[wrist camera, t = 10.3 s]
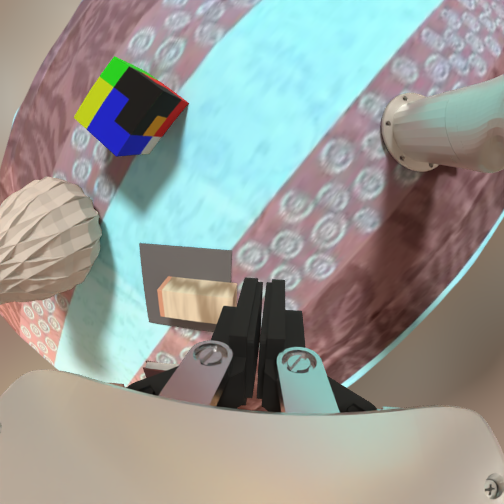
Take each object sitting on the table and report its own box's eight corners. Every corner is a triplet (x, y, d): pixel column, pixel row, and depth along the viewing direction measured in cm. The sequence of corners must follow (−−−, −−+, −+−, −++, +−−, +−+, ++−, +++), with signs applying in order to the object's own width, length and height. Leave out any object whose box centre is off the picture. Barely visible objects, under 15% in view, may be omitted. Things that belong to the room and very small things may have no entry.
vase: (132, 261, 46) (18, 371, 18) (64, 278, 49) (-30, 357, 21) (98, 154, 40) (-55, 185, 12) (34, 191, 43) (-80, 236, 15)
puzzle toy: (149, 153, 39) (116, 156, 30) (110, 120, 38) (73, 117, 28) (189, 103, 36) (163, 90, 27) (146, 71, 35) (114, 56, 25)
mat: (231, 250, 44) (231, 251, 43) (230, 332, 49) (229, 333, 49) (140, 243, 45) (139, 243, 44) (149, 321, 50) (149, 321, 50)
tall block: (232, 298, 41) (157, 289, 41) (232, 325, 42) (160, 316, 43) (237, 283, 45) (168, 276, 46) (236, 309, 47) (170, 301, 48)
